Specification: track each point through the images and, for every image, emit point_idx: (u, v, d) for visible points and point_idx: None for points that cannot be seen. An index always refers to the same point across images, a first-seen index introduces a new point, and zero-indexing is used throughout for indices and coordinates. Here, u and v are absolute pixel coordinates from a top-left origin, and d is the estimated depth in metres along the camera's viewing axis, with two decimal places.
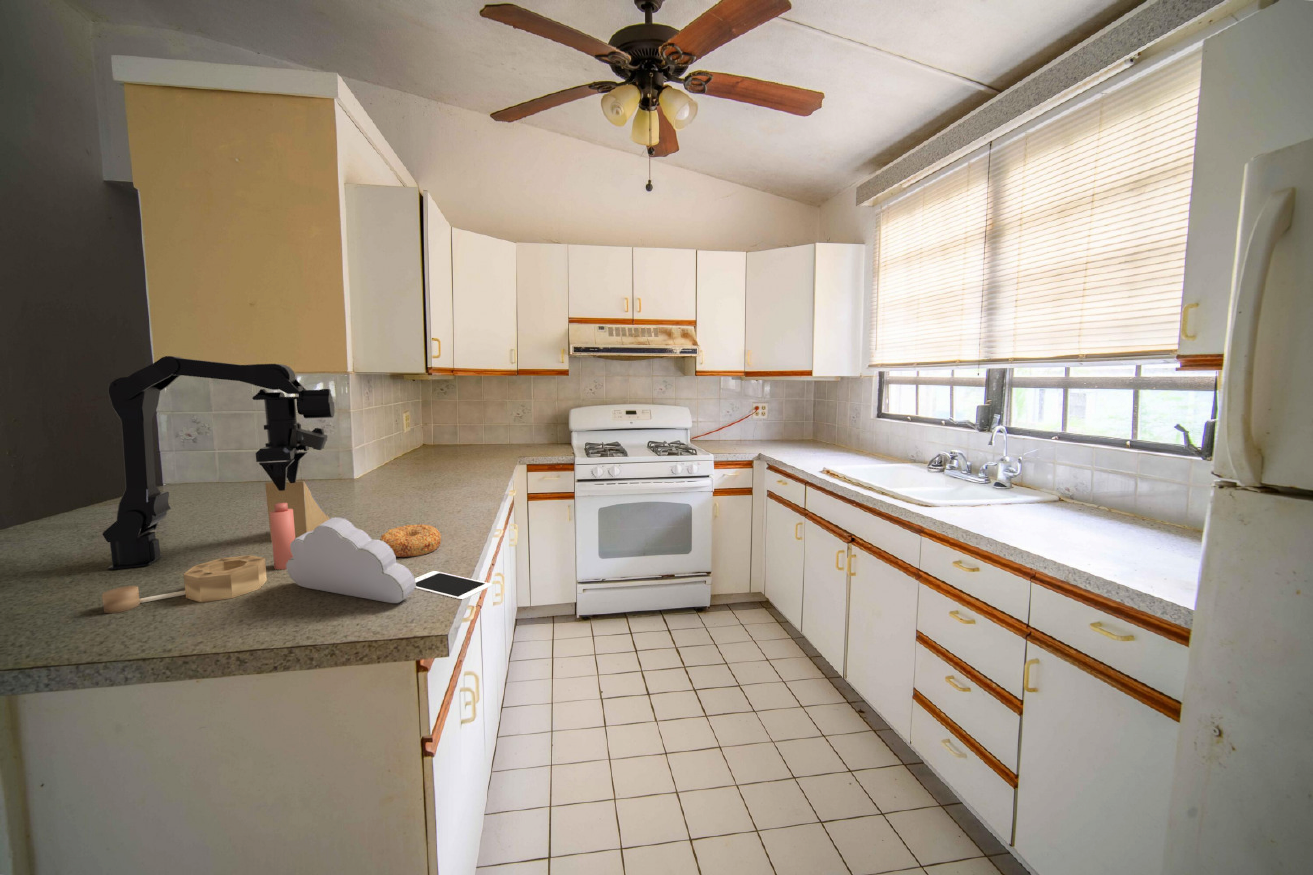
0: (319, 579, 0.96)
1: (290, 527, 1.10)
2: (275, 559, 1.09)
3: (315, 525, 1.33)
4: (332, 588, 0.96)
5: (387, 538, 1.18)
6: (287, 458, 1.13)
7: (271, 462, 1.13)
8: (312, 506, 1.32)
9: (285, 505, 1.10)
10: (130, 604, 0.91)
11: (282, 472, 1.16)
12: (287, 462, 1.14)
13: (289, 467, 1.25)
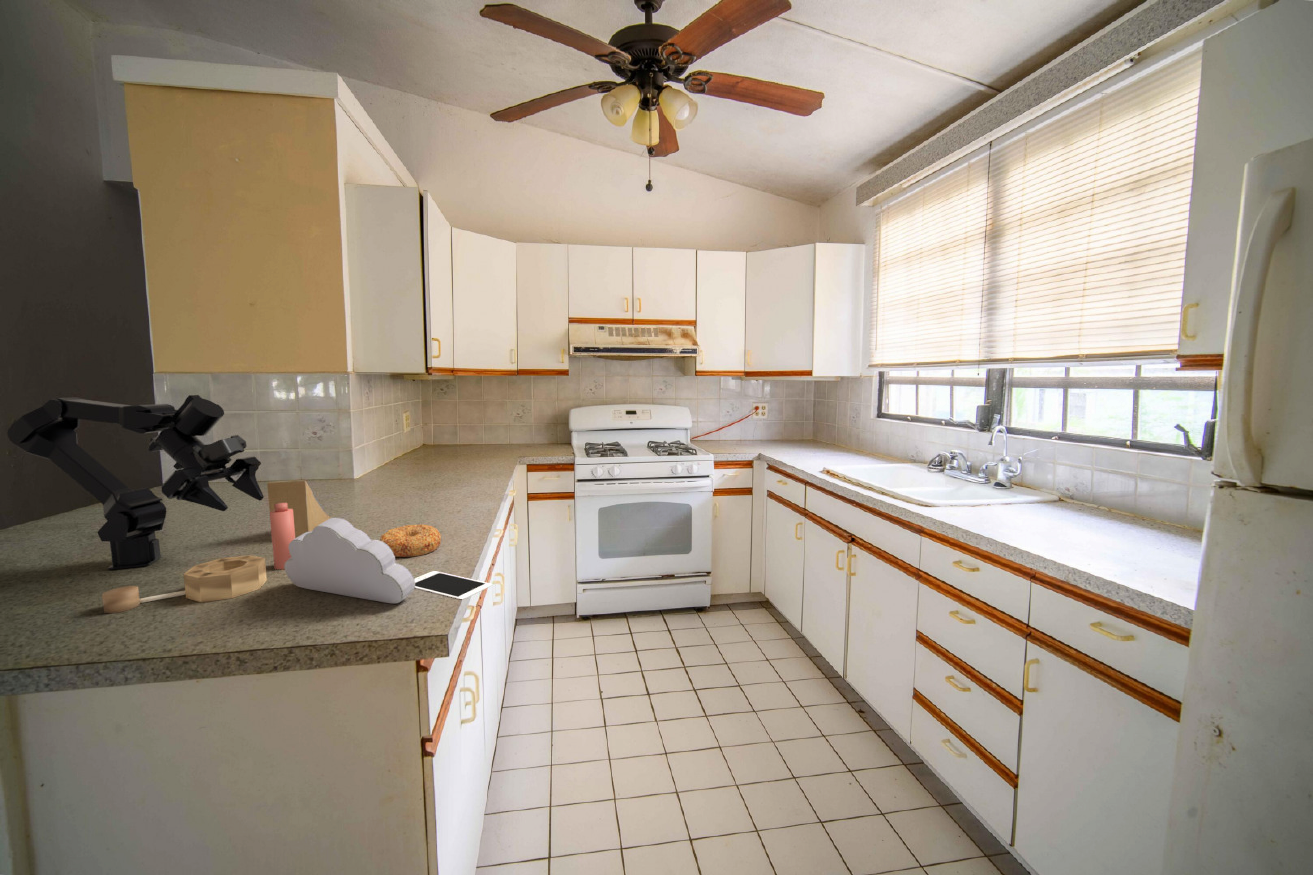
0: (317, 580, 0.95)
1: (290, 527, 1.10)
2: (275, 559, 1.09)
3: (316, 525, 1.33)
4: (331, 589, 0.96)
5: (387, 538, 1.18)
6: (183, 477, 1.00)
7: (182, 491, 1.02)
8: (314, 505, 1.32)
9: (285, 505, 1.10)
10: (130, 604, 0.91)
11: (206, 493, 1.04)
12: (192, 481, 1.02)
13: (248, 488, 1.15)
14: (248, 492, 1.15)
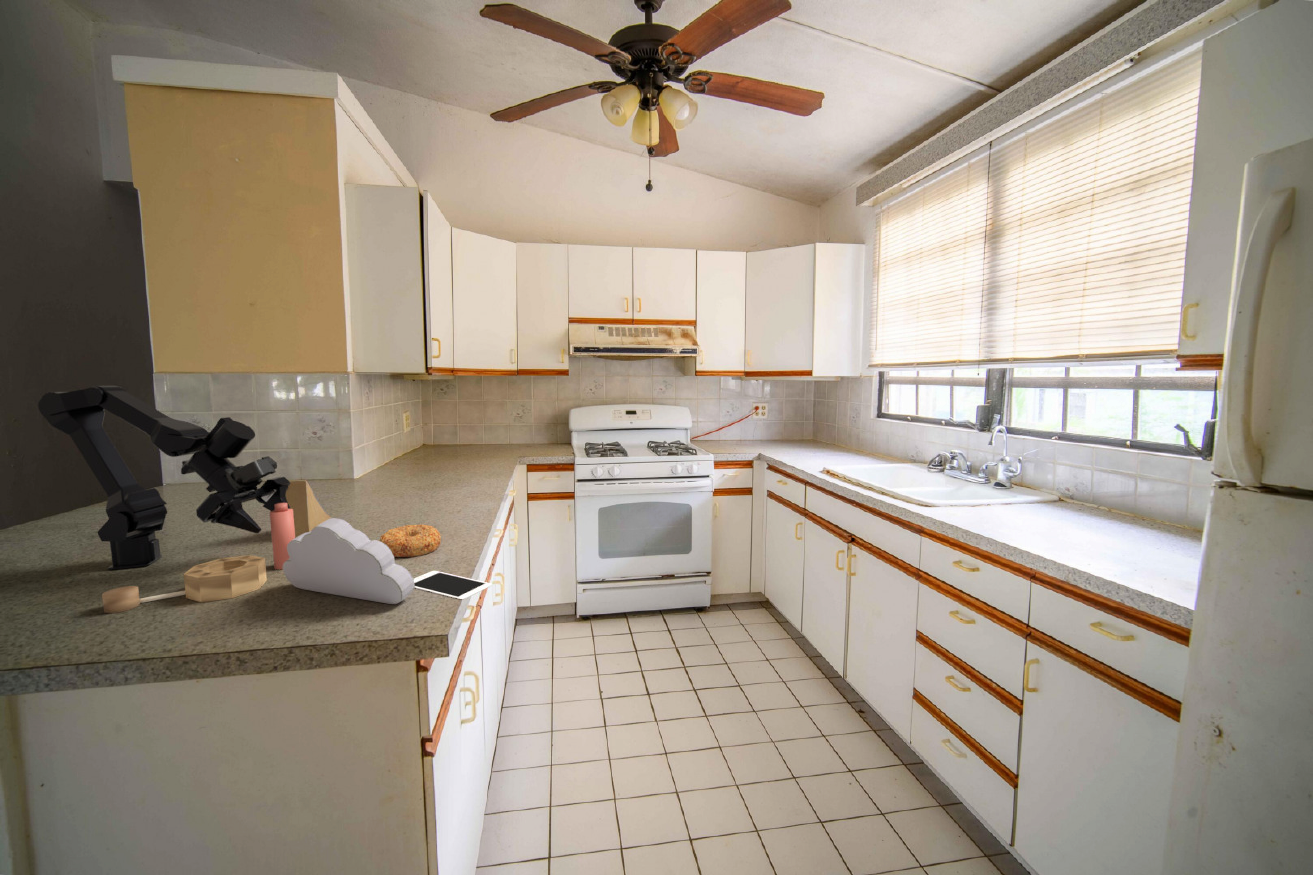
0: (316, 581, 0.95)
1: (290, 527, 1.10)
2: (275, 559, 1.09)
3: (317, 524, 1.34)
4: (330, 590, 0.96)
5: (387, 538, 1.18)
6: (218, 501, 1.00)
7: (217, 514, 1.02)
8: (314, 505, 1.33)
9: (285, 505, 1.10)
10: (130, 604, 0.91)
11: (240, 516, 1.04)
12: (226, 504, 1.02)
13: None
14: None
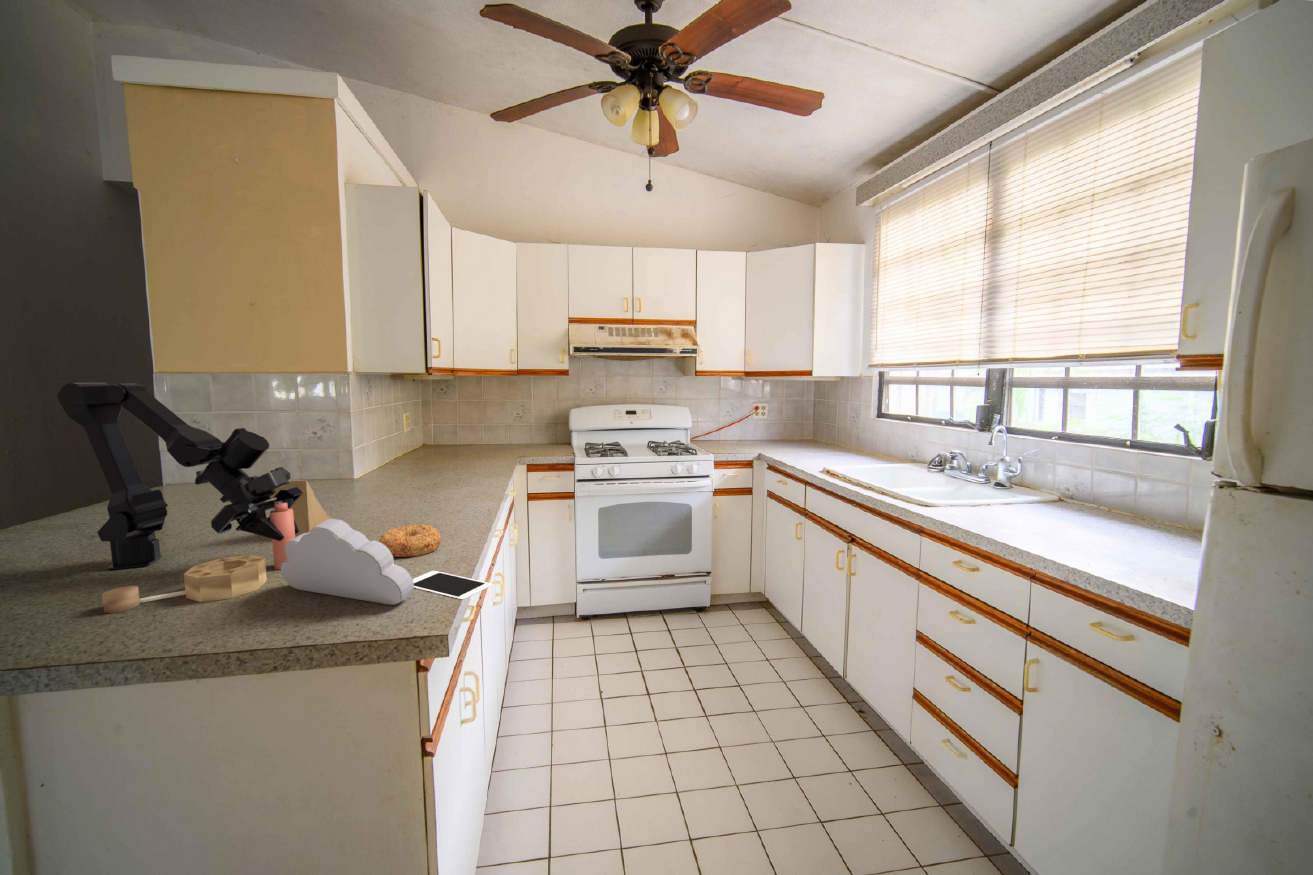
0: (314, 581, 0.95)
1: (290, 527, 1.10)
2: (275, 559, 1.09)
3: (317, 524, 1.34)
4: (328, 590, 0.95)
5: (387, 538, 1.18)
6: (233, 513, 1.01)
7: (241, 522, 1.05)
8: (314, 505, 1.33)
9: (285, 505, 1.10)
10: (130, 604, 0.91)
11: (263, 524, 1.07)
12: (251, 513, 1.04)
13: None
14: None
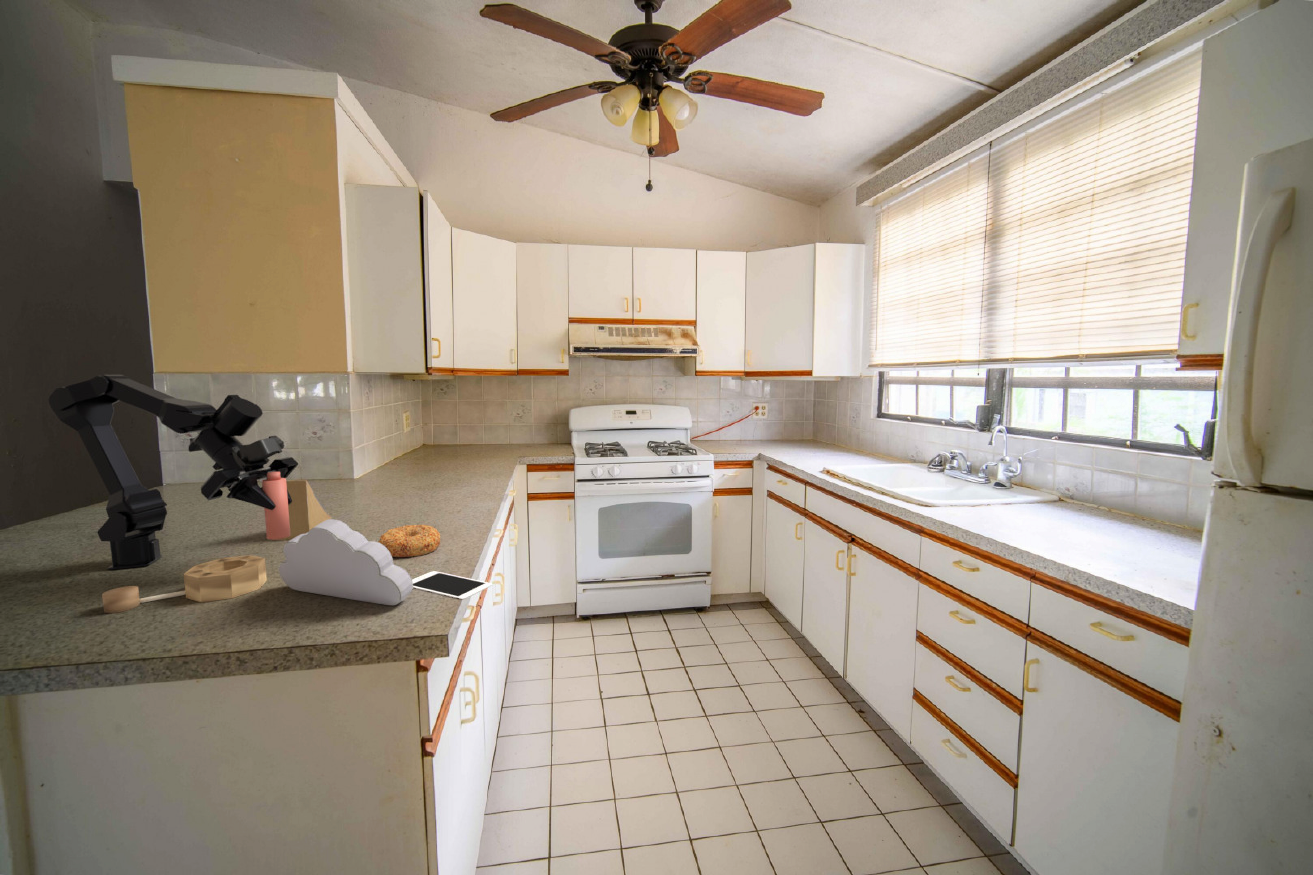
0: (313, 582, 0.94)
1: (283, 496, 1.08)
2: (267, 528, 1.07)
3: (317, 524, 1.34)
4: (327, 591, 0.95)
5: (386, 538, 1.18)
6: (222, 479, 0.99)
7: (232, 489, 1.03)
8: (314, 504, 1.33)
9: (278, 474, 1.07)
10: (130, 604, 0.91)
11: (255, 492, 1.05)
12: (242, 480, 1.02)
13: None
14: None
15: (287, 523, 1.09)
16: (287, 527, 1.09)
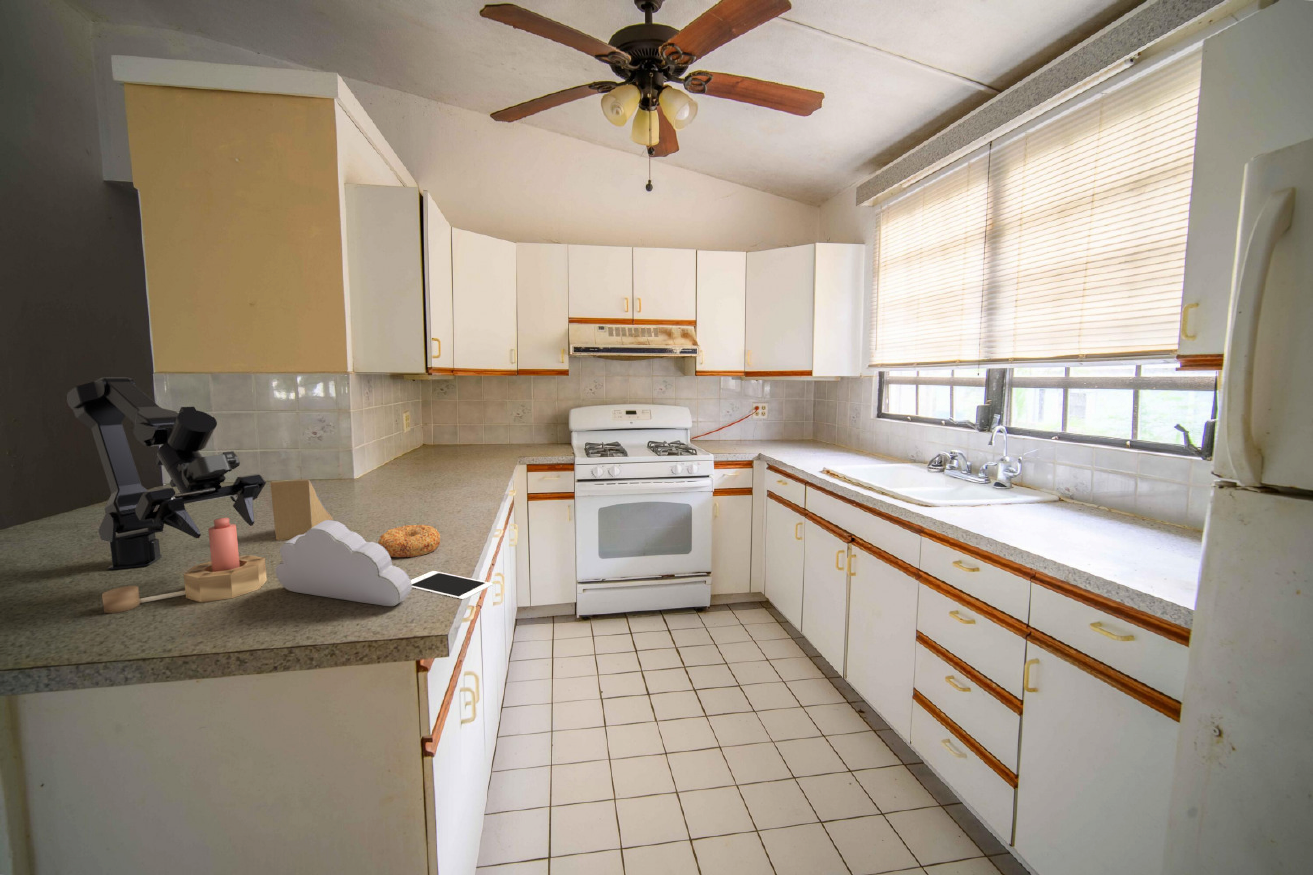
0: (310, 583, 0.94)
1: (228, 547, 0.97)
2: None
3: None
4: (324, 592, 0.94)
5: (386, 538, 1.18)
6: (148, 500, 0.90)
7: (155, 513, 0.92)
8: (316, 504, 1.33)
9: (224, 521, 0.97)
10: (130, 604, 0.91)
11: (179, 517, 0.93)
12: (161, 504, 0.91)
13: (242, 510, 1.02)
14: (242, 515, 1.03)
15: None
16: None
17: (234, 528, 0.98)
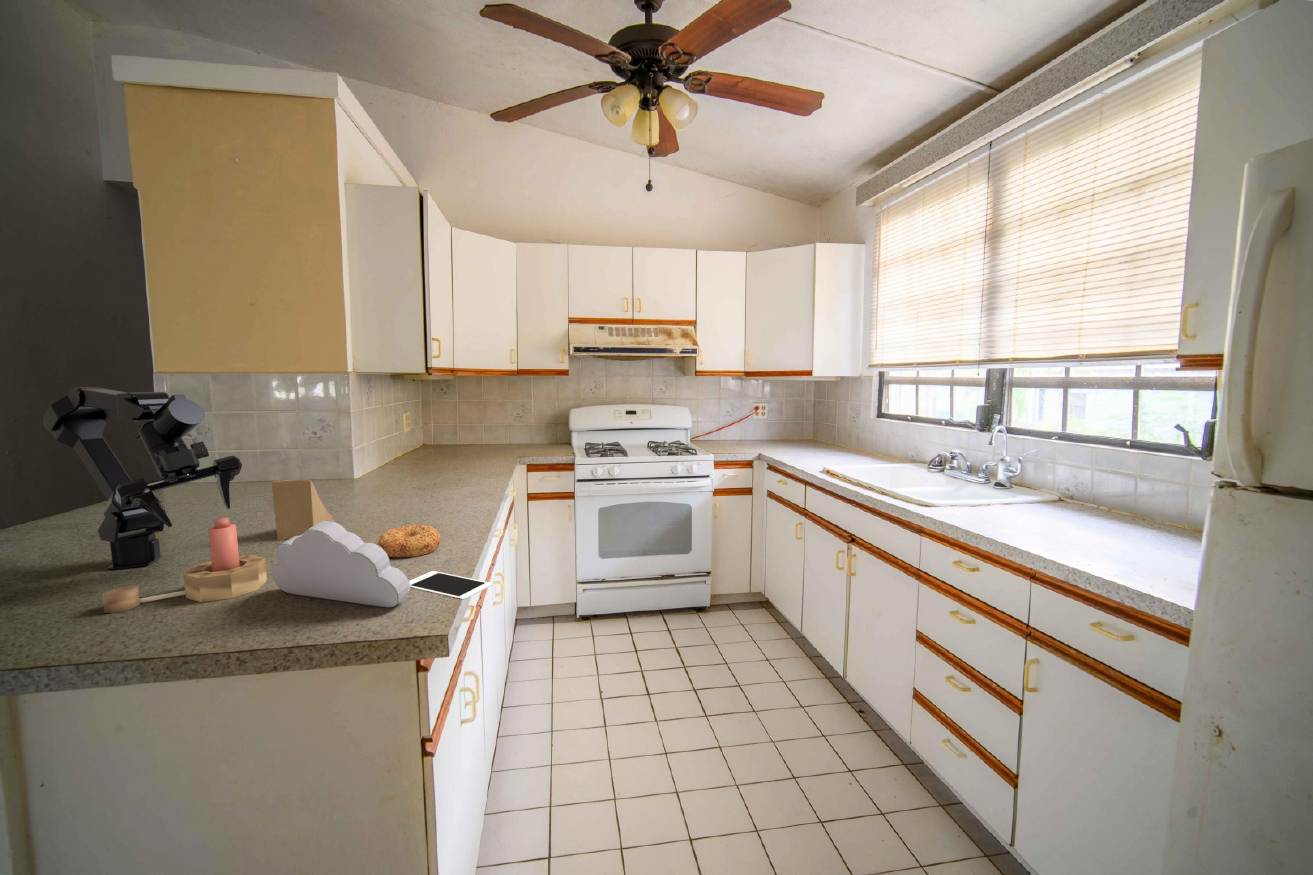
0: (307, 585, 0.93)
1: (228, 547, 0.97)
2: None
3: None
4: (322, 594, 0.94)
5: (386, 538, 1.18)
6: (120, 495, 0.96)
7: (131, 502, 0.99)
8: (318, 504, 1.34)
9: (224, 521, 0.97)
10: (130, 604, 0.91)
11: None
12: (132, 498, 0.97)
13: (221, 492, 1.08)
14: None
15: None
16: None
17: (234, 528, 0.98)
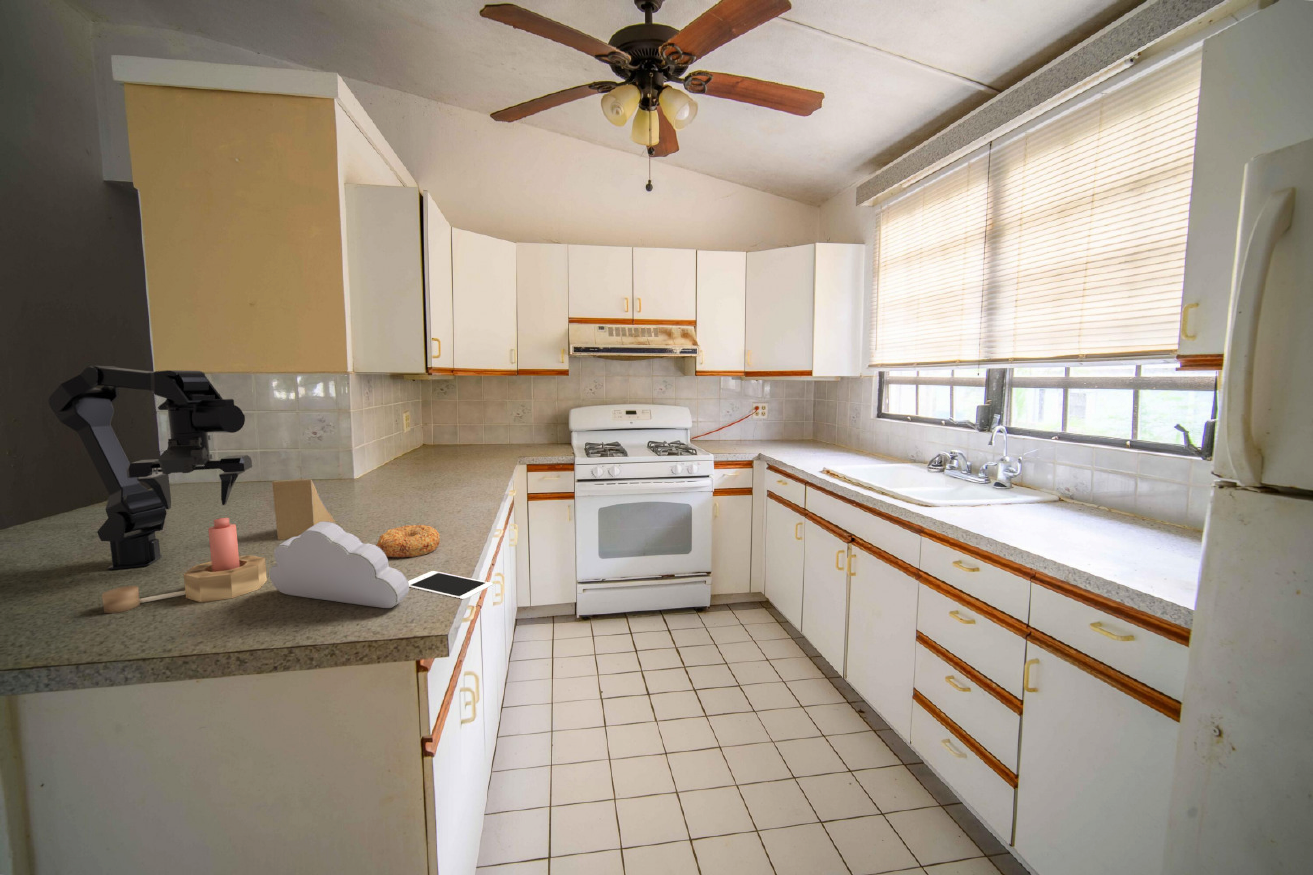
0: (305, 586, 0.93)
1: (228, 547, 0.97)
2: None
3: None
4: (320, 595, 0.93)
5: (386, 539, 1.18)
6: (127, 475, 1.02)
7: None
8: (318, 504, 1.34)
9: (224, 521, 0.97)
10: (130, 604, 0.91)
11: None
12: None
13: None
14: None
15: None
16: None
17: (234, 528, 0.98)
